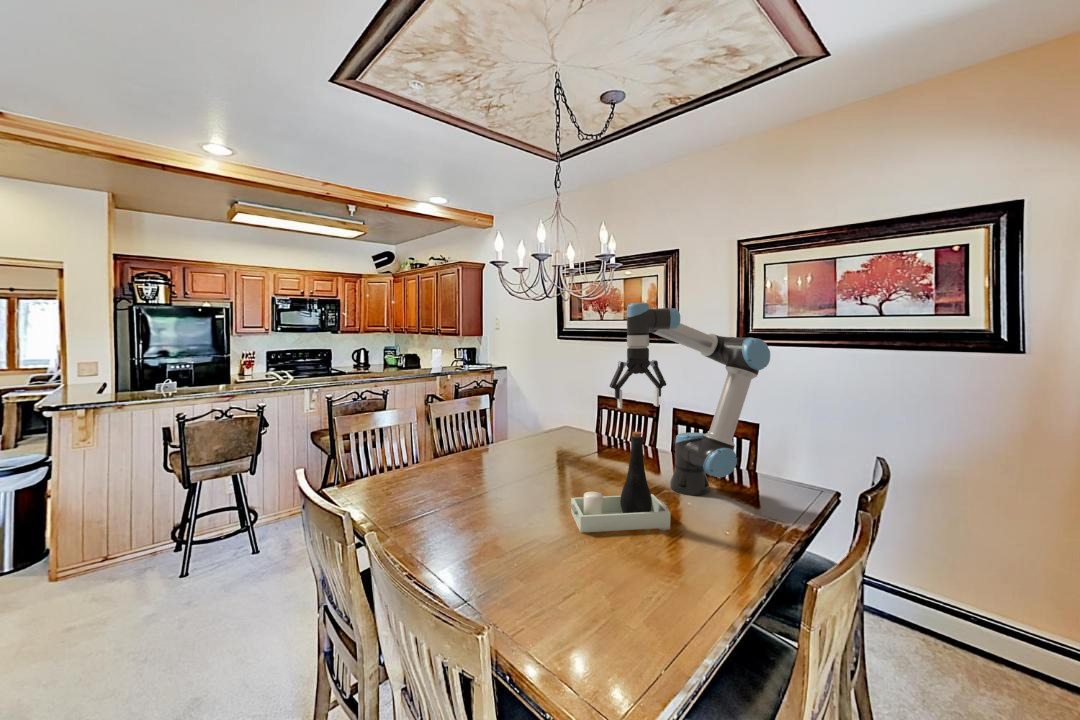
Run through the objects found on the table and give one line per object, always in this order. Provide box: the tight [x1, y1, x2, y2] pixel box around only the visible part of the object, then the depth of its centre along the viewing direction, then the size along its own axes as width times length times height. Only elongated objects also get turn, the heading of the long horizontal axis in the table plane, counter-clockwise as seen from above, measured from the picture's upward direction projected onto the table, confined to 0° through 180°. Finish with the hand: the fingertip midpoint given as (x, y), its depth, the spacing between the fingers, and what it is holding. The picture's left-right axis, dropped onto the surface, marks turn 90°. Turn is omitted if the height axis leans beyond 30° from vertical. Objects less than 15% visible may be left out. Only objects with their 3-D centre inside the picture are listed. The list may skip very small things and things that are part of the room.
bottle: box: [620, 431, 652, 513], centre depth 155 cm, size 11×11×30 cm
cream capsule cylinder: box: [583, 491, 604, 515], centre depth 154 cm, size 6×6×9 cm
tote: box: [570, 493, 672, 534], centre depth 156 cm, size 32×16×6 cm, turn 97°
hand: (638, 407), depth 162 cm, fingers open, 13 cm apart
